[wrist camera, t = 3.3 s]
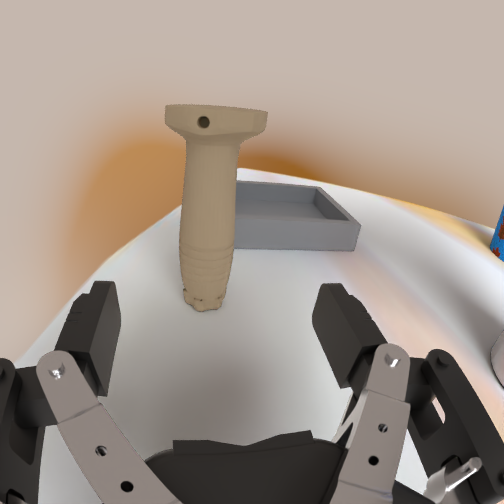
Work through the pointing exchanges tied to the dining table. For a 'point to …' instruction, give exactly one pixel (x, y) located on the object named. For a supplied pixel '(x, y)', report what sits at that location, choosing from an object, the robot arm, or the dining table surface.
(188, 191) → the handle
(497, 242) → the thermos
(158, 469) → the robot arm
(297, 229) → the tray
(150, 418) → the dining table surface
